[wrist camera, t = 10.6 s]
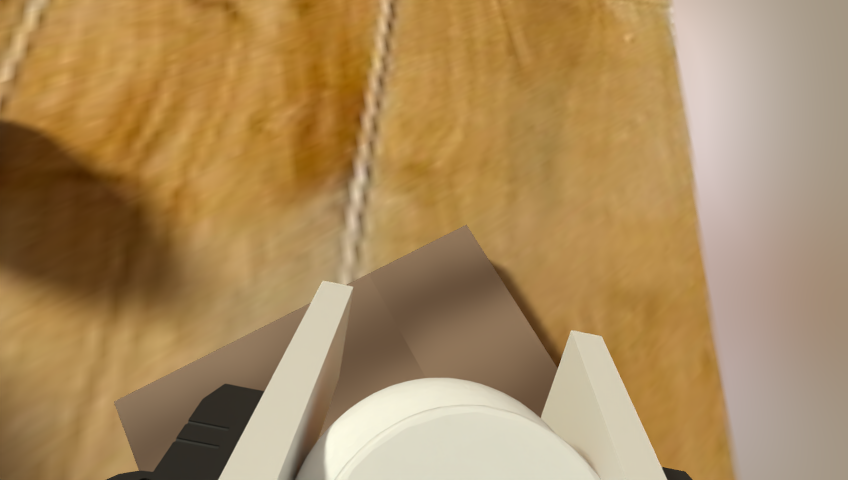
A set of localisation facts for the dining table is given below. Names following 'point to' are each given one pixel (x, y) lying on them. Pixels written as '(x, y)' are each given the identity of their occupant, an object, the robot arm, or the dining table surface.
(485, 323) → the socket stand
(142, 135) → the dining table surface
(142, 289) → the dining table surface
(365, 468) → the supplement bottle
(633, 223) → the dining table surface
